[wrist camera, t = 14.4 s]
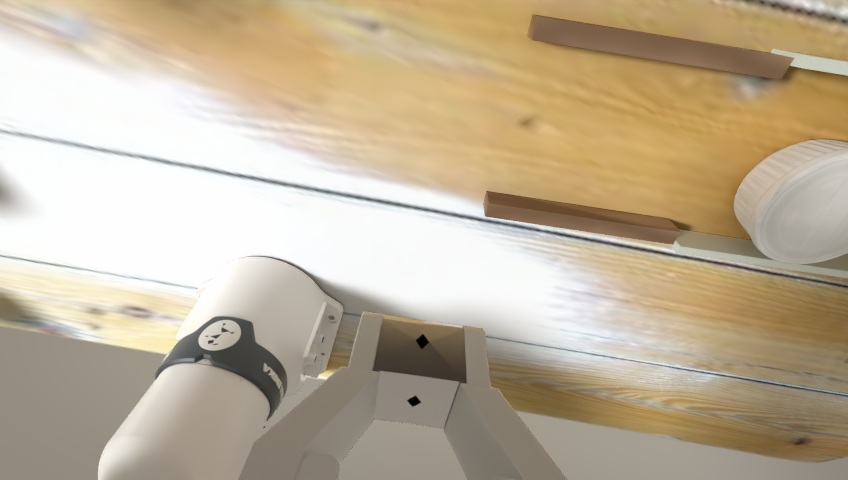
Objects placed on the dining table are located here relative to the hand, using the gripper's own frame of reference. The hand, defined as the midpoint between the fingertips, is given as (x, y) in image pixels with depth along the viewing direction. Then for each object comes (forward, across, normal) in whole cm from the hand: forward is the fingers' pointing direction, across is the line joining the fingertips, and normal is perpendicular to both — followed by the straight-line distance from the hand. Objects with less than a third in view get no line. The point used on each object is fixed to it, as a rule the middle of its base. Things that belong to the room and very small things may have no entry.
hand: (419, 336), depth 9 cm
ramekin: (+28, +34, -3) cm, 44 cm away
